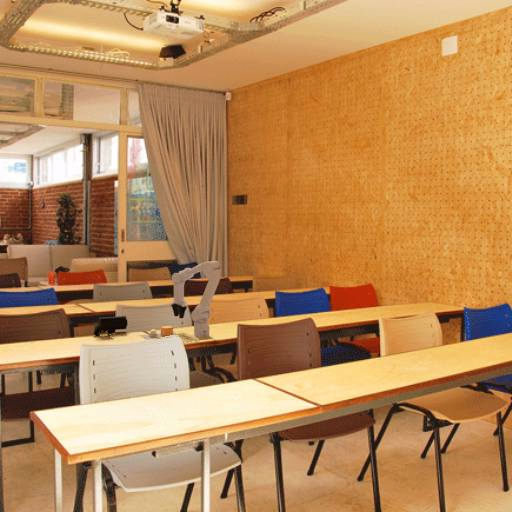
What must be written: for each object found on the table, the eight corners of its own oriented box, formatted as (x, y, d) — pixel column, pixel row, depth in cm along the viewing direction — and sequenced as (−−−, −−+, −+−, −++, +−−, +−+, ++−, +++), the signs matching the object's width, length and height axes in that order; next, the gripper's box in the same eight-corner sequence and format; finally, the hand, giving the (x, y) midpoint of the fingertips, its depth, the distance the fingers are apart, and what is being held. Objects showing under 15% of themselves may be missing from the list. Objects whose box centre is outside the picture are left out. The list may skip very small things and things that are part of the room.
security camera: (93, 335, 361) (92, 317, 360) (125, 332, 369) (125, 315, 368) (95, 337, 355) (95, 319, 354) (128, 334, 363) (128, 317, 362)
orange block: (173, 335, 355) (173, 327, 355) (163, 336, 353) (163, 328, 353) (169, 333, 360) (169, 325, 360) (160, 334, 358) (160, 326, 357)
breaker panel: (180, 338, 354) (180, 333, 354) (146, 341, 345) (146, 336, 345) (173, 334, 365) (173, 329, 364) (139, 337, 355) (139, 332, 355)
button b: (156, 333, 352) (156, 330, 352) (151, 334, 351) (151, 330, 351) (154, 333, 354) (154, 329, 354) (150, 333, 353) (150, 329, 353)
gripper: (167, 292, 370) (167, 315, 371) (177, 295, 357) (177, 319, 358) (178, 292, 373) (179, 315, 374) (188, 295, 360) (188, 318, 361)
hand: (178, 317), depth 366 cm, fingers open, 7 cm apart
